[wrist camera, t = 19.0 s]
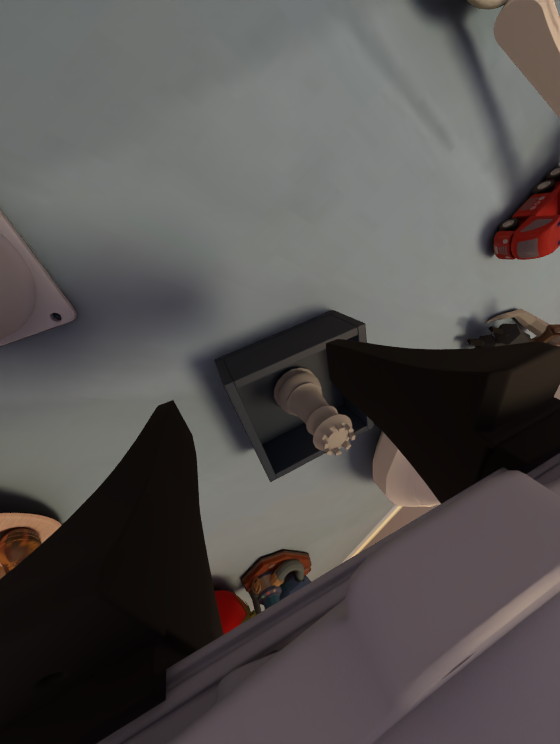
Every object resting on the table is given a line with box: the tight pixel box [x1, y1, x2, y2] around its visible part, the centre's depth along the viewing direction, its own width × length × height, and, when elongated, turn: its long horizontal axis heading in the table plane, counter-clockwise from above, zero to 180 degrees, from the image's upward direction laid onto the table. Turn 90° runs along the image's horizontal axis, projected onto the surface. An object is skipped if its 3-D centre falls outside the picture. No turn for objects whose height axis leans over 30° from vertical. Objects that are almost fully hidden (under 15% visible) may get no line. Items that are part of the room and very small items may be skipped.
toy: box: [467, 309, 560, 348], centre depth 31 cm, size 10×8×15 cm
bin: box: [215, 310, 373, 482], centre depth 23 cm, size 11×11×4 cm
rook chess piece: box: [274, 368, 356, 456], centre depth 21 cm, size 4×4×8 cm
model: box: [241, 550, 311, 615], centre depth 36 cm, size 12×9×9 cm
